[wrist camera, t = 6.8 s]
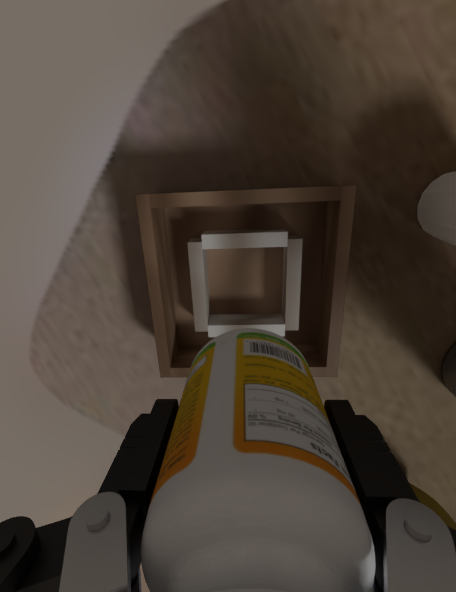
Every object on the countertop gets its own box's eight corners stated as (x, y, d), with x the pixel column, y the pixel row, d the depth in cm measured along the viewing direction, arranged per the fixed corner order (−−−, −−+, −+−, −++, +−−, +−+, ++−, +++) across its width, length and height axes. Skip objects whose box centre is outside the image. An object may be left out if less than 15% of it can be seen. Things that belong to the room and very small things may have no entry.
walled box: (335, 186, 25) (356, 185, 21) (322, 348, 31) (337, 376, 26) (154, 193, 26) (135, 194, 22) (172, 349, 32) (160, 377, 27)
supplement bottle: (216, 436, 14) (168, 858, 5) (171, 346, 13) (-8, 729, 4) (323, 408, 14) (487, 858, 4) (289, 308, 12) (438, 688, 3)
